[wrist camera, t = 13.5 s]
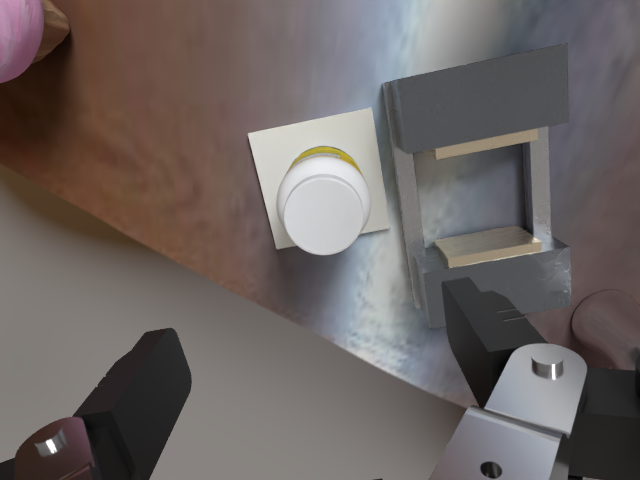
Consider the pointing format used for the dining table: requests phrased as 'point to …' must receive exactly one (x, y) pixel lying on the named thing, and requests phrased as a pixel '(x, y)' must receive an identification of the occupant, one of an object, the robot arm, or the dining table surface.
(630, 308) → the beer glass
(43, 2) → the cupcake
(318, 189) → the pill bottle
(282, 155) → the placing pad
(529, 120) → the bench vise
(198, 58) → the dining table surface
